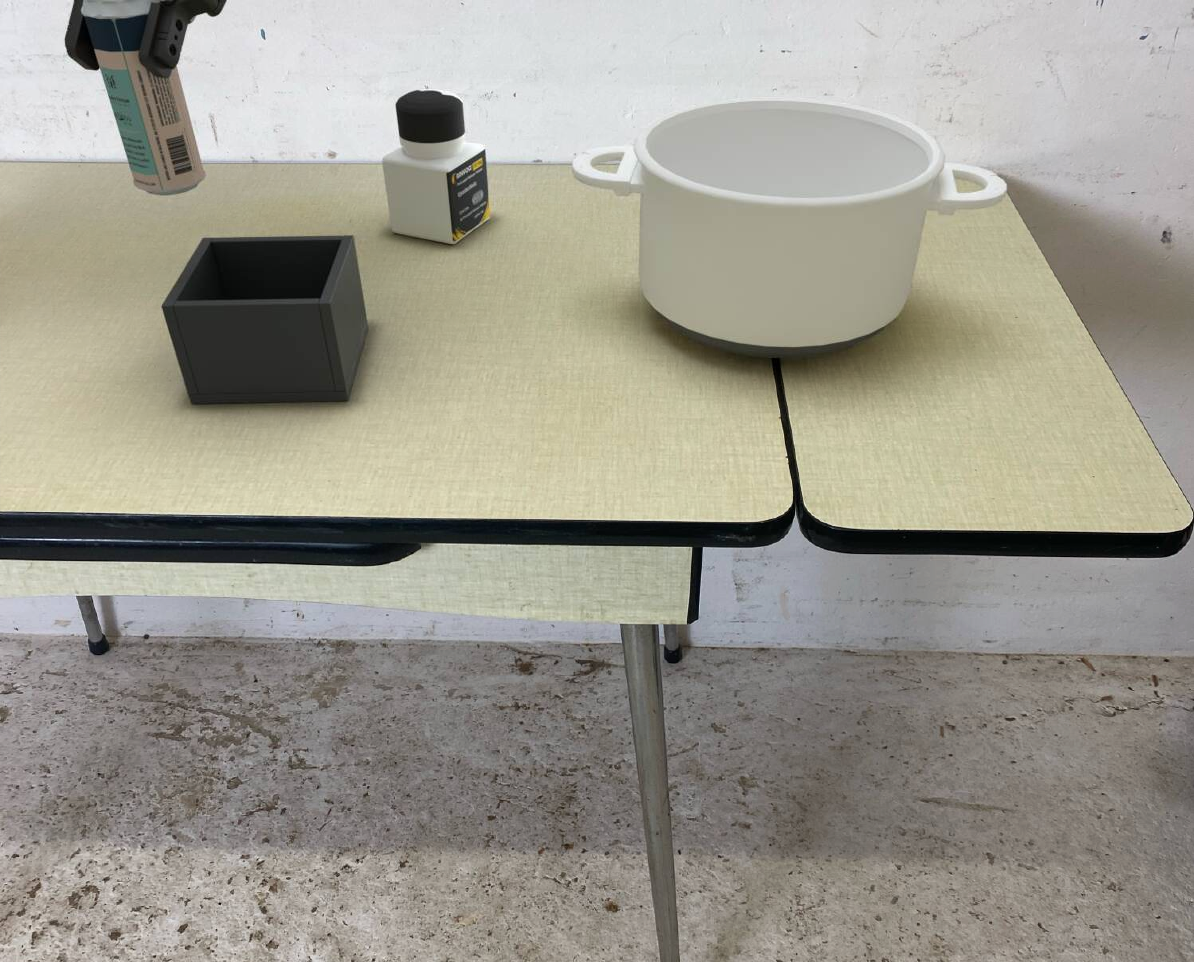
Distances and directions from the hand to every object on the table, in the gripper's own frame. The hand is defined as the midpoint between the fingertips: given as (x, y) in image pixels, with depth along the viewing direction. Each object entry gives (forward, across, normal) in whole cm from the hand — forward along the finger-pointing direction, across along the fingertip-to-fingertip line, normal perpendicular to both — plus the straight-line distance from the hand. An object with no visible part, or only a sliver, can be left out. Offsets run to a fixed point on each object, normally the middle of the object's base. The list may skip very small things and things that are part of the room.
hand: (117, 65), depth 66 cm
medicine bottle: (-7, -4, -38) cm, 39 cm away
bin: (+13, -5, -18) cm, 23 cm away
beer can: (+5, 0, -7) cm, 9 cm away
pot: (-2, -38, -34) cm, 51 cm away
